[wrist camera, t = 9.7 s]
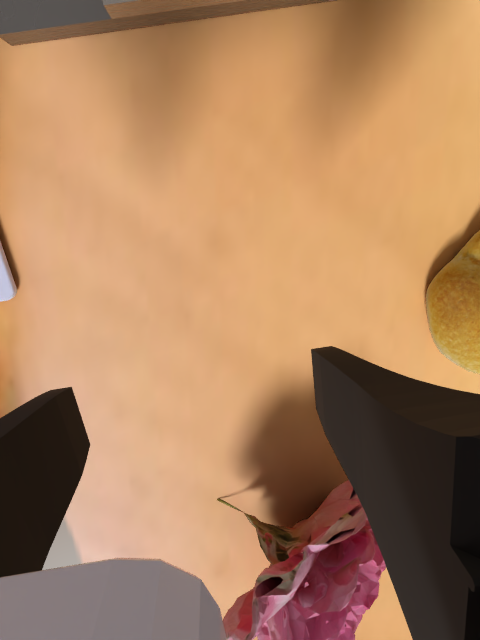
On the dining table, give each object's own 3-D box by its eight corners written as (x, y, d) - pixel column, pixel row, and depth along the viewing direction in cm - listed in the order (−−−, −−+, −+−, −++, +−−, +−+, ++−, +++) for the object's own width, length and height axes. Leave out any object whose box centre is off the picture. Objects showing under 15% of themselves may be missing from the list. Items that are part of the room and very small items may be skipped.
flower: (367, 461, 29) (446, 627, 23) (249, 508, 30) (294, 674, 25) (339, 423, 20) (457, 683, 14) (172, 494, 21) (215, 751, 15)
